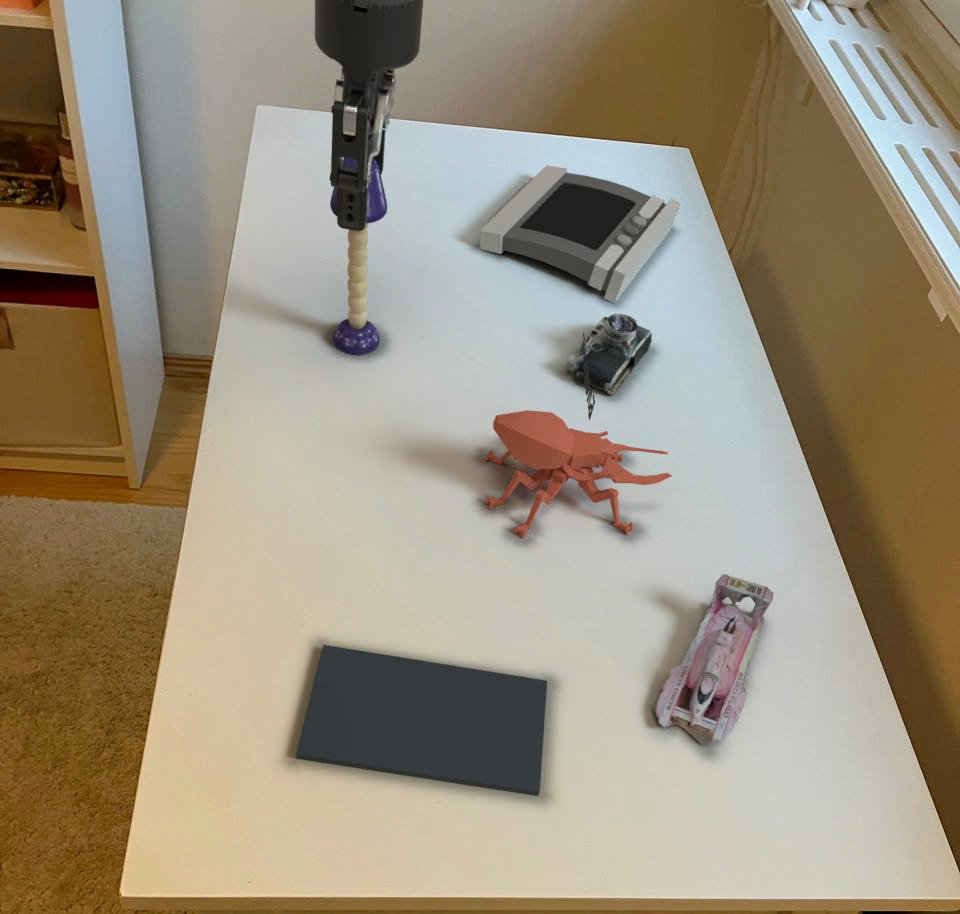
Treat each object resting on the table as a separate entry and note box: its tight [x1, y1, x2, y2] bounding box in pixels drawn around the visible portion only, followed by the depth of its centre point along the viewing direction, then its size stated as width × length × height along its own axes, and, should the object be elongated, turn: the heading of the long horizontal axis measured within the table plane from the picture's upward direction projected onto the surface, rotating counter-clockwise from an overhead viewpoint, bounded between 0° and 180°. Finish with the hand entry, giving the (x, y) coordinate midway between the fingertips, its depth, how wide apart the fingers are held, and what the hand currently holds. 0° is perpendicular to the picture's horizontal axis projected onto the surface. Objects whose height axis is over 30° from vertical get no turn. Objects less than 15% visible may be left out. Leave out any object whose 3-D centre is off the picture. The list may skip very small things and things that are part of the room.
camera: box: [566, 313, 653, 396], centre depth 93 cm, size 5×10×4 cm, turn 150°
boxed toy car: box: [652, 574, 774, 747], centre depth 72 cm, size 13×6×4 cm, turn 156°
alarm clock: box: [479, 165, 682, 304], centre depth 106 cm, size 17×5×16 cm
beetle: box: [483, 331, 673, 539], centre depth 79 cm, size 15×12×13 cm
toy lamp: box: [330, 158, 388, 356], centre depth 85 cm, size 5×5×17 cm
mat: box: [296, 644, 548, 797], centre depth 68 cm, size 16×9×1 cm, turn 84°
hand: (360, 199), depth 81 cm, fingers open, 8 cm apart
